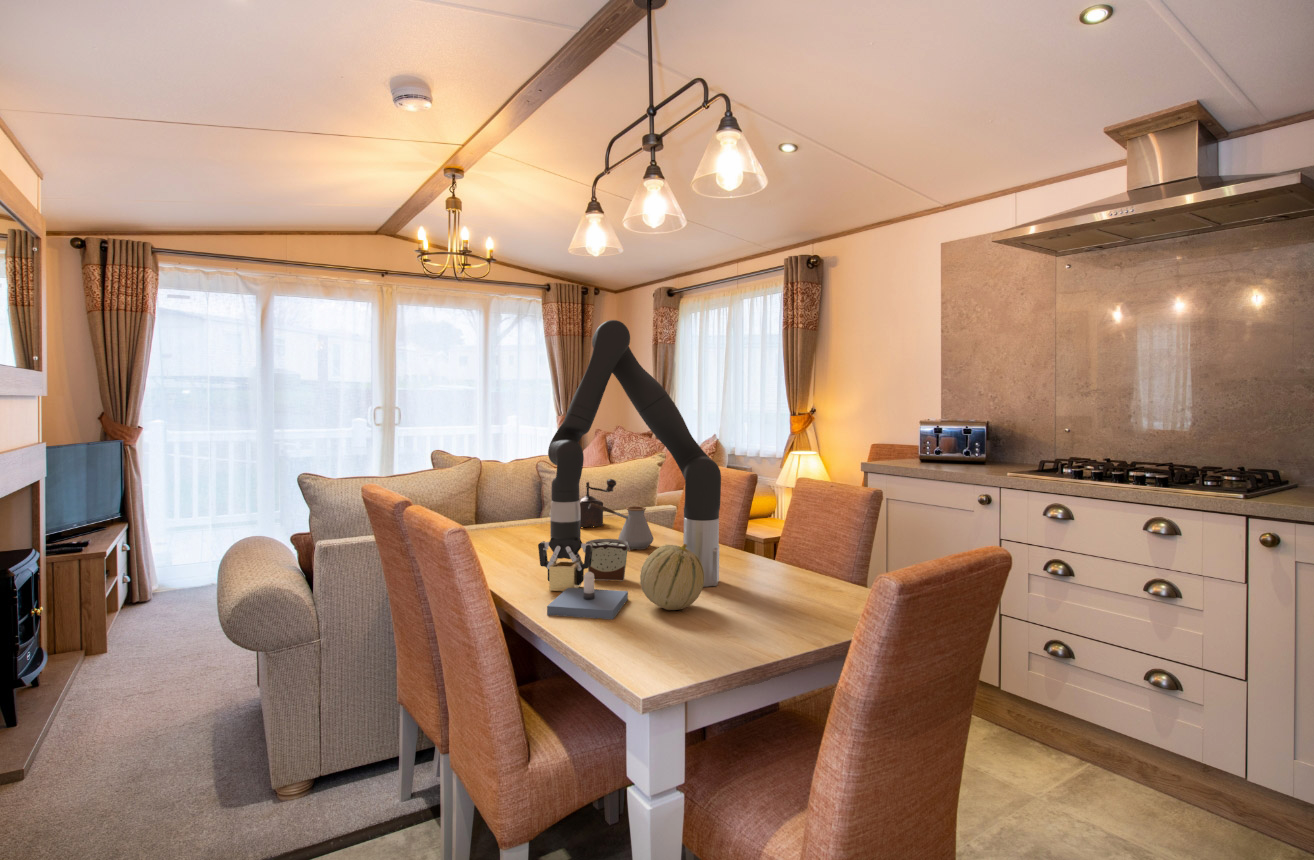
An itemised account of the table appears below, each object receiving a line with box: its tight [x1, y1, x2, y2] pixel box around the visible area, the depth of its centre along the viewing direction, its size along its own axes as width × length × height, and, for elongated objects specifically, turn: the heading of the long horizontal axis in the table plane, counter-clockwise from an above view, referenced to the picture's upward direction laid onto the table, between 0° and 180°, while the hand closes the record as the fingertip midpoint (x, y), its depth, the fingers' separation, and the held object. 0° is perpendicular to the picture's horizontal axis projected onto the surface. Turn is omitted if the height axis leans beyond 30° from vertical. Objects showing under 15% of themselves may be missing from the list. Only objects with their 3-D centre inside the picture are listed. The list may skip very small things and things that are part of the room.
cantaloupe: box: [639, 543, 704, 611], centre depth 154 cm, size 15×15×15 cm
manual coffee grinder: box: [579, 478, 617, 528], centre depth 255 cm, size 16×11×18 cm
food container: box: [585, 538, 631, 582], centre depth 180 cm, size 12×6×10 cm, turn 84°
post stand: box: [546, 571, 629, 620], centre depth 154 cm, size 15×15×8 cm
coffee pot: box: [588, 503, 654, 550], centre depth 216 cm, size 21×12×15 cm, turn 102°
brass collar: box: [548, 560, 582, 592], centre depth 169 cm, size 6×6×6 cm
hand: (565, 583), depth 169 cm, fingers closed on brass collar, 6 cm apart
